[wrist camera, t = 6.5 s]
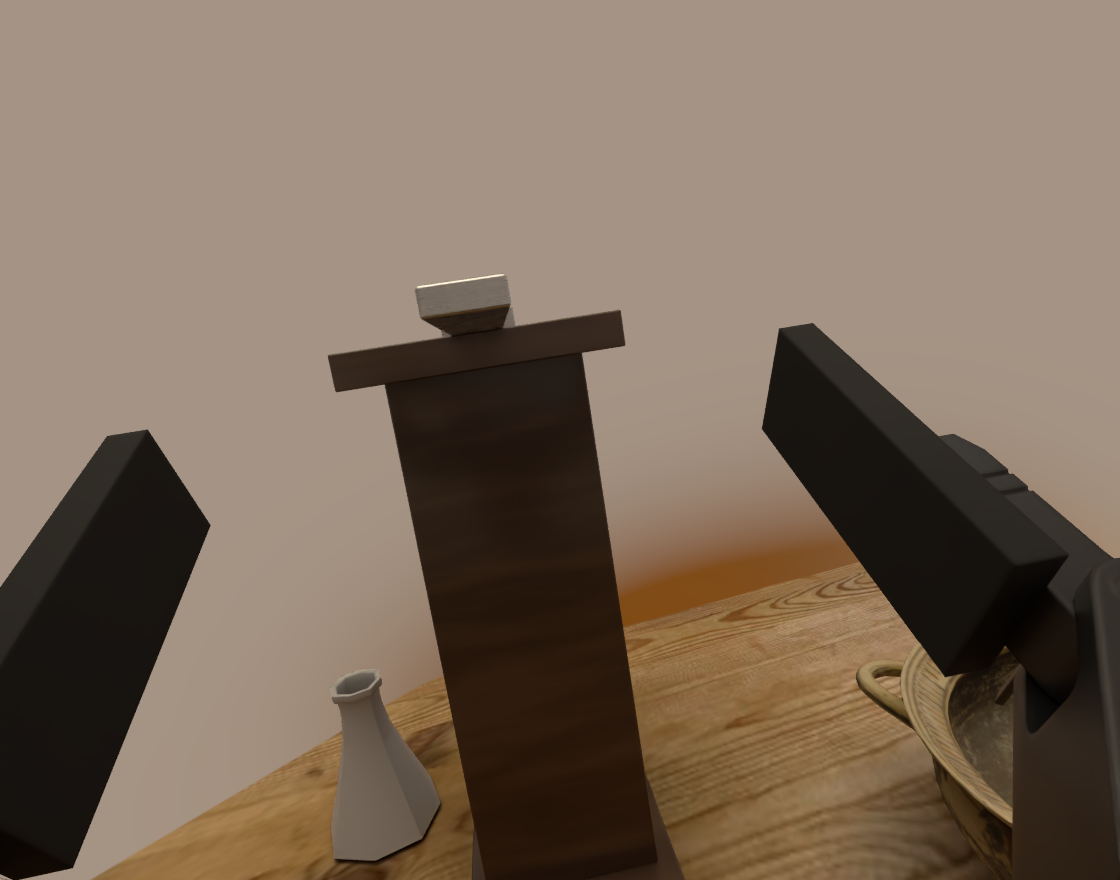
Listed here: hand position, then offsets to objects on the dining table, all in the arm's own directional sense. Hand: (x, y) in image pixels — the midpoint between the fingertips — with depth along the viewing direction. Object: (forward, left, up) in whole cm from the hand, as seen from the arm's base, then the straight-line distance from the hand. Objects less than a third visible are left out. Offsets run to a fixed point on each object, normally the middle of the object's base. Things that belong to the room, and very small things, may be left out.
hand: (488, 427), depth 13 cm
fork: (-3, +13, +3) cm, 14 cm away
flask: (-16, +21, -28) cm, 38 cm away
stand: (-4, +19, -27) cm, 34 cm away
